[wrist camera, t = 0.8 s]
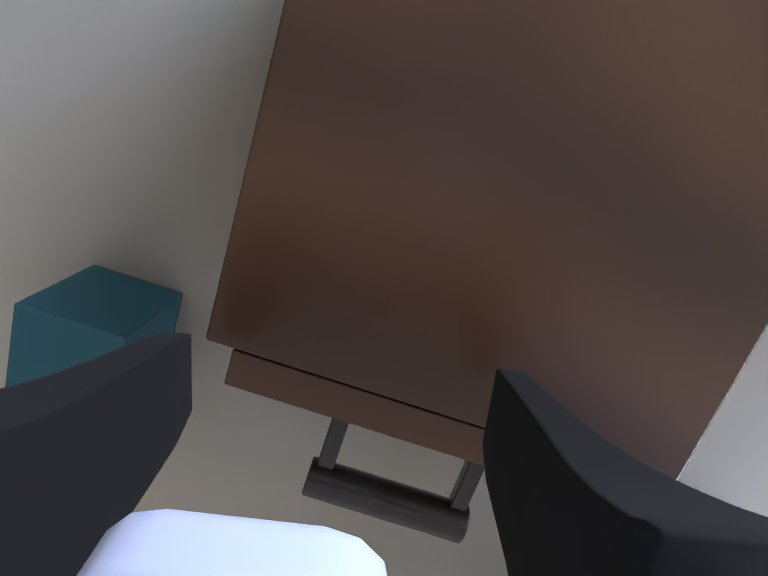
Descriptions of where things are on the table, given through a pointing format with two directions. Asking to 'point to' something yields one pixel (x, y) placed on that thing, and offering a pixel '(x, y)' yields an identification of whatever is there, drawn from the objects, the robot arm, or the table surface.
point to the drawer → (380, 416)
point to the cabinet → (512, 207)
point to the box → (85, 321)
